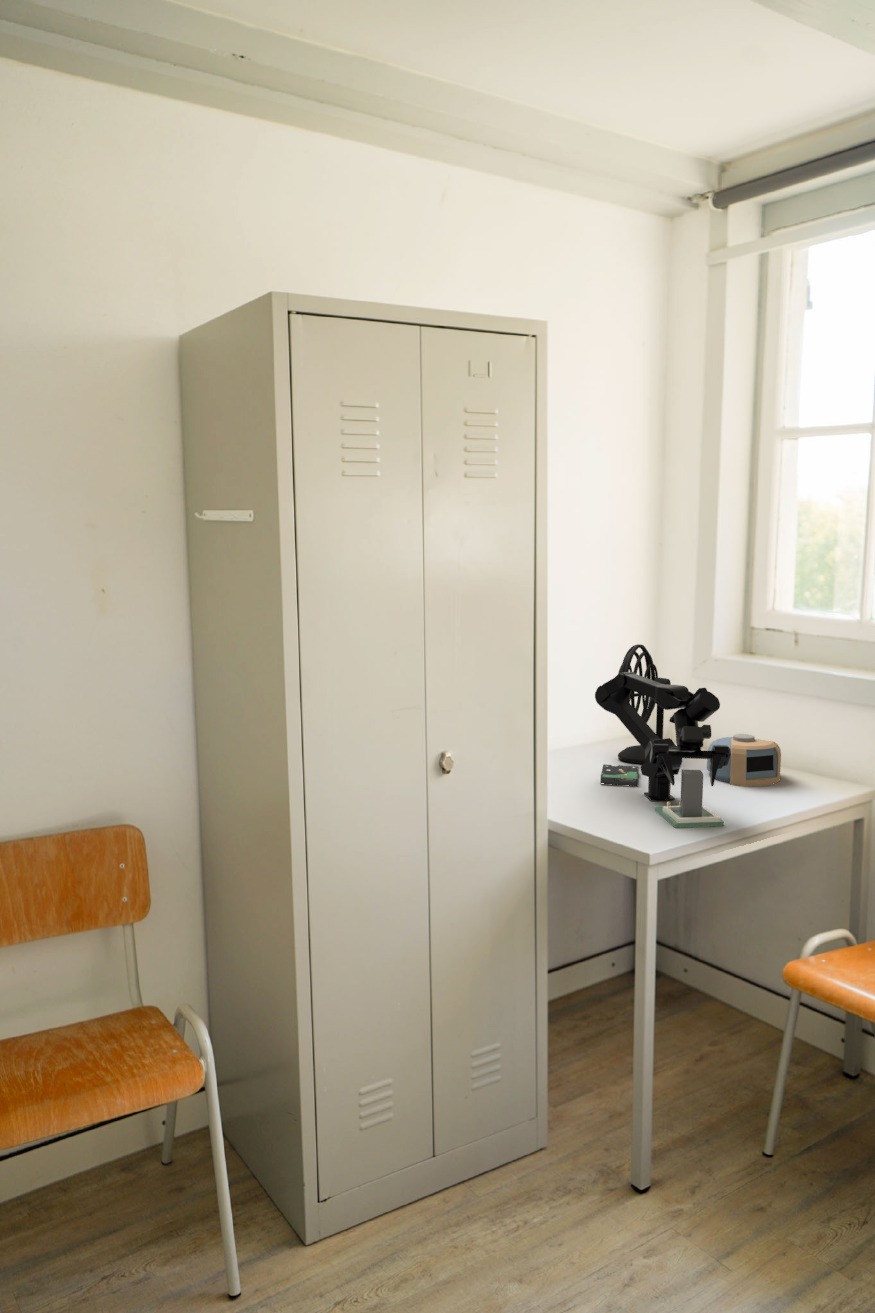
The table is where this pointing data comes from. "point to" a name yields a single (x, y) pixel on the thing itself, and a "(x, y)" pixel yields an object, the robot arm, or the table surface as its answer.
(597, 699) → the robot arm
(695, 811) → the block
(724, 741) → the alarm clock
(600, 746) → the table surface
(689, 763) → the table surface
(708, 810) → the green flat piece
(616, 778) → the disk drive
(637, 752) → the desk fan
